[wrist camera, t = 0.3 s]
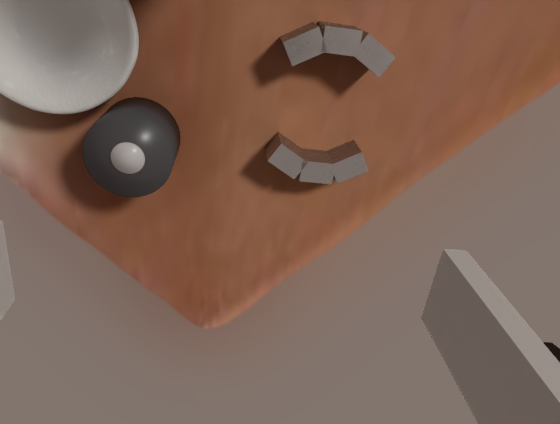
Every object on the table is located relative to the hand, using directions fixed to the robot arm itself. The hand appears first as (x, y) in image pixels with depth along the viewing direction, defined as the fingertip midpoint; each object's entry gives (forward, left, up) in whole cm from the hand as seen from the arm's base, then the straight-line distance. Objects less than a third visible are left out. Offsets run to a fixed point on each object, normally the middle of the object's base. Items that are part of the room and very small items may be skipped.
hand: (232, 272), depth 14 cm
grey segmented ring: (0, +7, -26) cm, 27 cm away
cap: (+5, -7, -26) cm, 27 cm away
